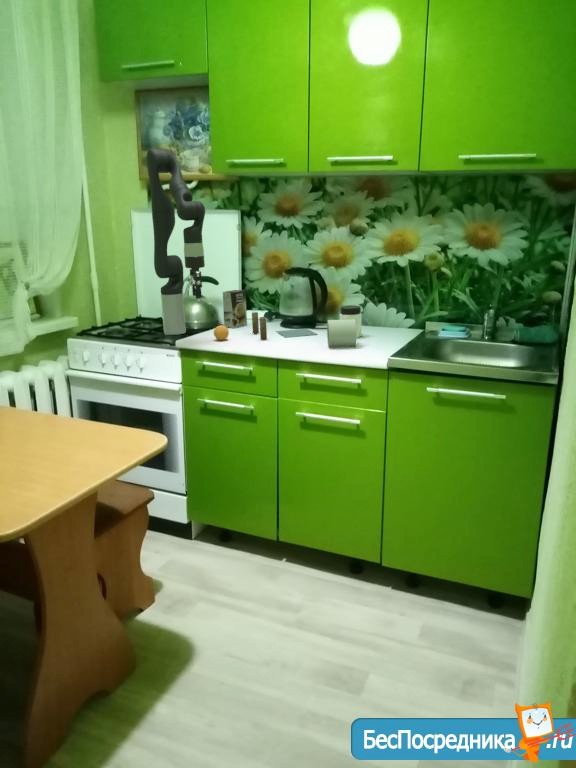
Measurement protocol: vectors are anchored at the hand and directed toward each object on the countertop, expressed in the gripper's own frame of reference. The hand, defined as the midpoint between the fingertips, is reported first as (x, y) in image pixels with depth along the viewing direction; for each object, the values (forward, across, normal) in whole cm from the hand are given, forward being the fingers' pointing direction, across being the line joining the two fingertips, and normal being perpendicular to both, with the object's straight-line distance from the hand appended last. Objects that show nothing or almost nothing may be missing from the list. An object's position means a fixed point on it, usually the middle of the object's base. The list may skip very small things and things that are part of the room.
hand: (197, 297), depth 234 cm
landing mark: (+18, -1, +41) cm, 45 cm away
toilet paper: (+18, +30, +49) cm, 60 cm away
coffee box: (+18, -29, +21) cm, 40 cm away
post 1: (+18, -8, +25) cm, 32 cm away
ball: (+15, -1, +9) cm, 18 cm away
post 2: (+18, +6, +25) cm, 31 cm away
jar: (+18, +15, +59) cm, 63 cm away
